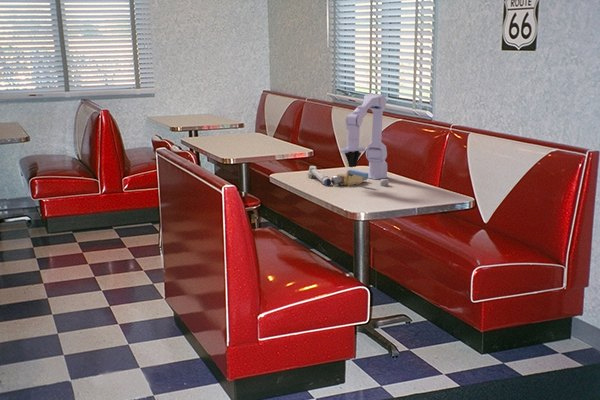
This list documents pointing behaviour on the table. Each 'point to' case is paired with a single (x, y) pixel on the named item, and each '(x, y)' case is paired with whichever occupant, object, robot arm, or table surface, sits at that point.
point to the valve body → (347, 179)
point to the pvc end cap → (384, 182)
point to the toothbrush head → (318, 176)
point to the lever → (357, 173)
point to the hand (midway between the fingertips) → (352, 166)
